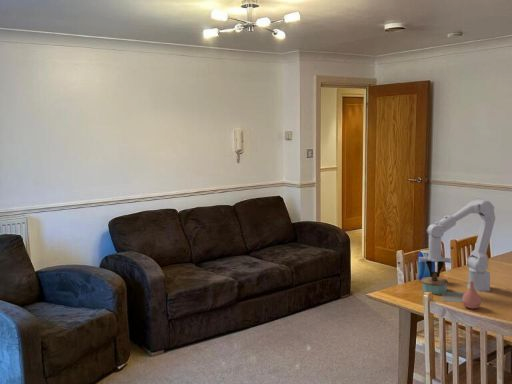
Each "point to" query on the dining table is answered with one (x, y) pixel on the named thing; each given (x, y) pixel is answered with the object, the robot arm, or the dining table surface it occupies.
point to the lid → (434, 280)
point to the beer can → (424, 266)
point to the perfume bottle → (471, 298)
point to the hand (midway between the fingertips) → (434, 276)
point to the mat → (453, 296)
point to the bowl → (434, 288)
